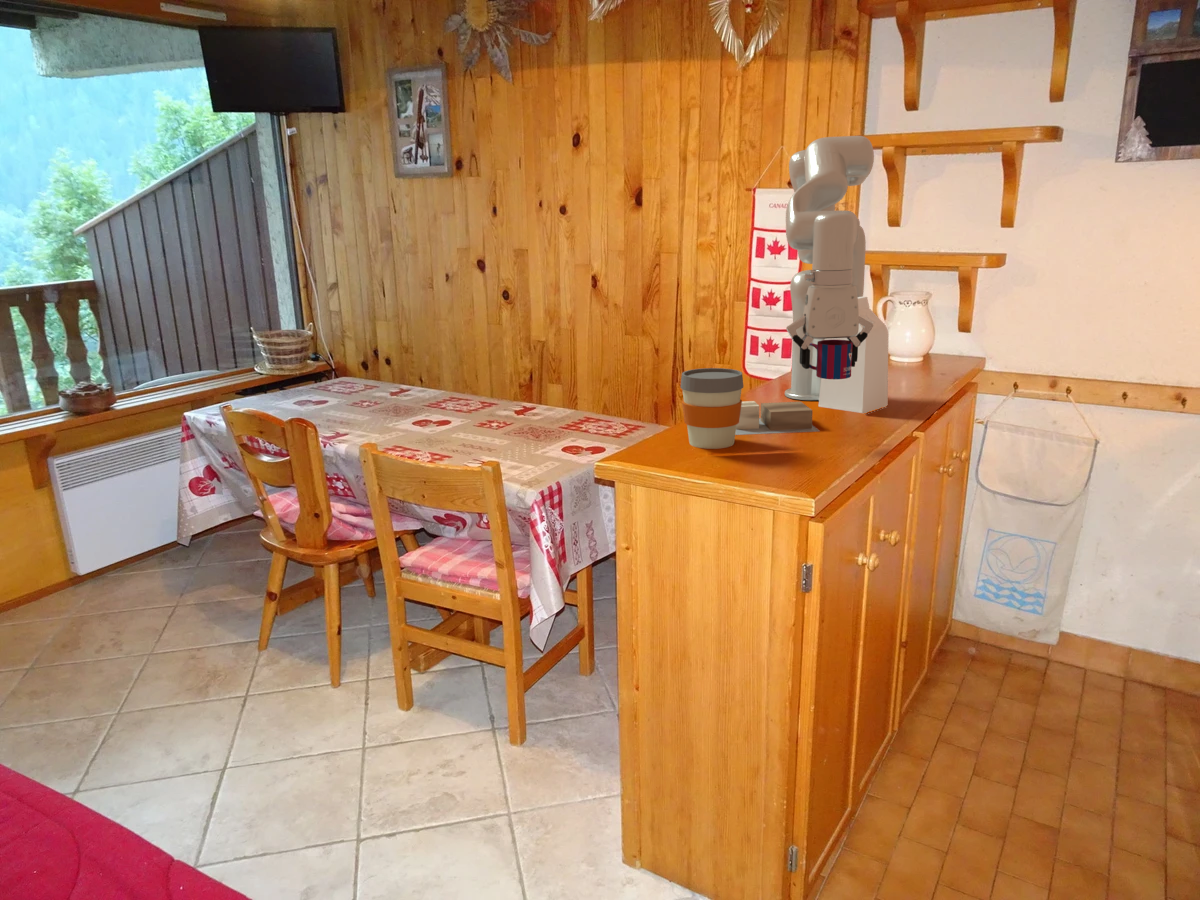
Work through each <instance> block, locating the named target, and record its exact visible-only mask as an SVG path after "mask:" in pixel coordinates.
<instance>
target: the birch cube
mask: <svg viewBox="0 0 1200 900" xmlns="http://www.w3.org/2000/svg"><path fill="white" fill-rule="evenodd" d="M759 418H760V405H759V404H758V403H757V402H756V401H755V400H749V401H748V400H747V401H742V405H741V412H740V419H739V423H738V424H737V425H736V429H758V428H759Z"/></svg>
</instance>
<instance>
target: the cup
mask: <svg viewBox="0 0 1200 900" xmlns="http://www.w3.org/2000/svg"><path fill="white" fill-rule="evenodd" d="M810 346H813V347H815V348H816V349H817V366H816V367H815V366H812V365H810V368H811V369H813V370H816V376H817V377H819V378H823V379H846V378H849V377H851V367H852V346H853V342H851V341H848V340H822V341H818V343H817V344H813V343H810Z"/></svg>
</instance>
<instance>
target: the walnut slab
mask: <svg viewBox="0 0 1200 900" xmlns="http://www.w3.org/2000/svg"><path fill="white" fill-rule="evenodd" d="M760 418H761V422H763V423H764V424H765V425H766V426H767V427H768V428H769V429H770V430H788V429H811V428H812V425H813V409H812V408H810V407H809V406H807V405H806V404H805V403H803V402H802V401H785V402H760Z"/></svg>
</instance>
